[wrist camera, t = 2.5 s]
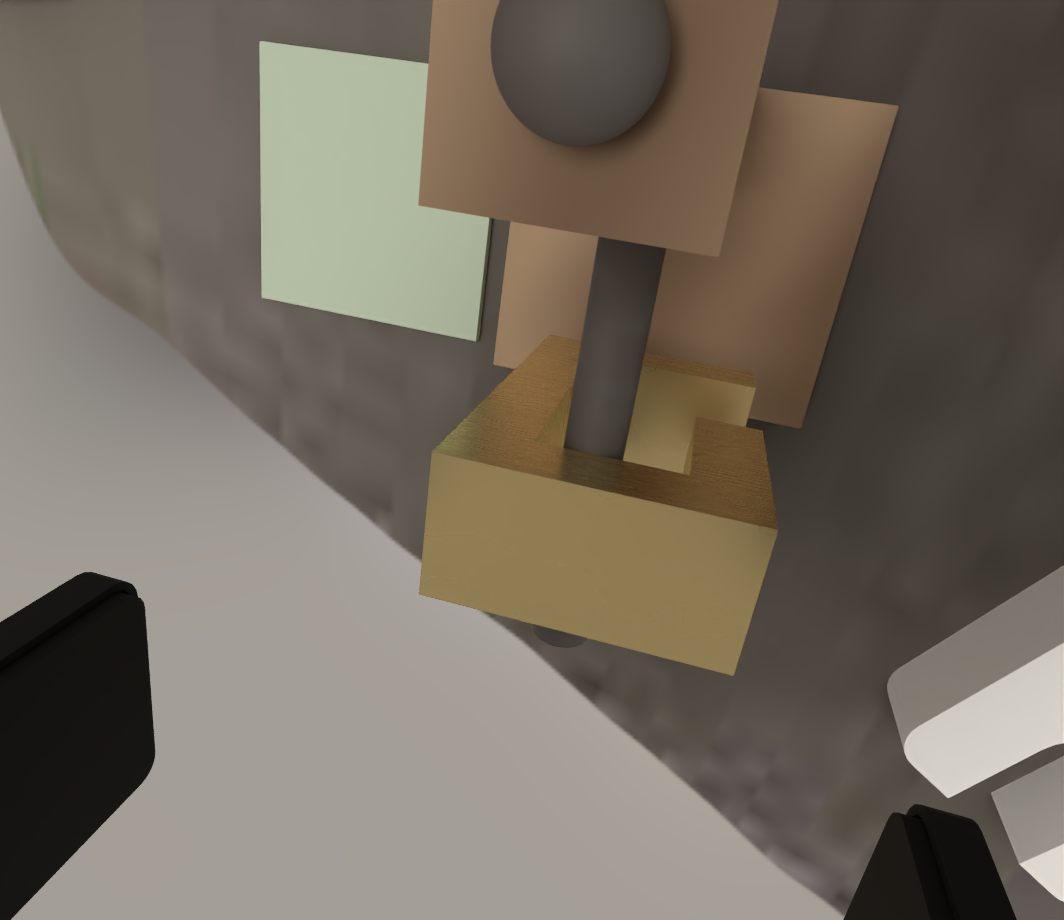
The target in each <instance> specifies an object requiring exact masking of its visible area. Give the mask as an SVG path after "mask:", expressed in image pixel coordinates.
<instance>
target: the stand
mask: <svg viewBox="0 0 1064 920" xmlns="http://www.w3.org/2000/svg"><path fill="white" fill-rule="evenodd" d="M778 1H779V0H433V8H432V22H431V36H430V50H429V63H428V77H427V91H426V105H425V119H424V133H423V147H422V160H421V174H420V188H419V202H418V206H424V207H430V208H436V209H441V210H447V211H453V212H459V213H465V214H470V215H476V216H482V217H488V218H494V219H499V220H505V221H511V222H510V230H509V238H508V246H507V255H506V263H505V271H504V280H503V288H502V296H501V305H500V313H499V321H498V329H497V338H496V346H495V354H494V363H493V365H498V366H503V367H508V368H512V369H516V368H517V367H518V366H519V365H520V364H521V363H522V362H523V361H524V360H525V359H526V358H527V357H528V356H529V355H530V354H531V353H532V352H533V351H534V350H535V349H536V348H537V347H538V346H539V345H540V344H541V343H542V342H543V341H544V340H545V339H546V338H547V337H548V336H549V335H550V334H552V335H557V336H562V337H567V338H573V339H578V340H581V345H580V351H579V357H578V363H577V369H576V375H575V381H574V387H573V393H572V399H571V405H570V411H569V417H568V423H567V429H566V435H565V441H564V446H563V448H568V449H572V450H577V451H581V452H586V453H590V454H595V455H600V456H604V457H609V458H613V459H618V460H623V458H624V453H625V448H626V443H627V438H628V433H629V428H630V424H631V419H632V414H633V409H634V404H635V399H636V394H637V389H638V384H639V379H640V374H641V370H642V365H643V360H644V355H645V353H650V354H655V355H660V356H665V357H671V358H676V359H681V360H686V361H691V362H696V363H702V364H707V365H712V366H717V367H722V368H727V369H733V370H738V371H743V372H748V373H753V374H754V379H755V386H756V389H755V393H754V397H753V400H752V404H751V408H750V411H749V415H748V418H751V419H755V420H760V421H765V422H770V423H774V424H779V425H784V426H789V427H794V428H798V429H801V427H802V423H803V420H804V417H805V413H806V410H807V407H808V404H809V400H810V397H811V394H812V390H813V387H814V384H815V381H816V377H817V374H818V371H819V367H820V364H821V361H822V357H823V354H824V351H825V348H826V344H827V341H828V338H829V334H830V331H831V328H832V324H833V321H834V318H835V315H836V311H837V308H838V305H839V301H840V298H841V295H842V292H843V288H844V285H845V282H846V278H847V275H848V272H849V268H850V265H851V262H852V259H853V255H854V252H855V249H856V245H857V242H858V239H859V235H860V232H861V229H862V226H863V222H864V219H865V216H866V212H867V209H868V206H869V203H870V199H871V196H872V193H873V189H874V186H875V183H876V179H877V176H878V173H879V170H880V166H881V163H882V160H883V156H884V153H885V150H886V146H887V143H888V140H889V137H890V133H891V130H892V127H893V123H894V120H895V117H896V114H897V110H898V107H899V106H897V105H889V104H881V103H874V102H866V101H858V100H851V99H843V98H836V97H828V96H820V95H813V94H805V93H797V92H790V91H782V90H774V89H767V88H759V83H760V79H761V74H762V70H763V66H764V61H765V57H766V53H767V49H768V44H769V40H770V36H771V31H772V27H773V23H774V18H775V14H776V10H777V6H778ZM533 628H534V632H535V634H536V635H537V636H538V637H539V638H540V639H541V640H542V641H544V642H546V643H548V644H550V645H553V646H556V647H563V648H569V647H575V646H578V645H580V644H582V643H583V642H584V641H585V640H586V637H582V636H578V635H574V634H570V633H566V632H562V631H559V630H555V629H551V628H547V627H543V626H539V625H535V624H534V626H533Z"/></svg>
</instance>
